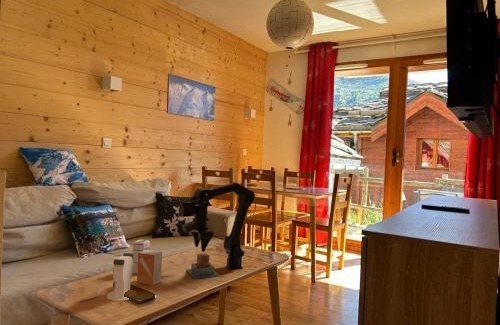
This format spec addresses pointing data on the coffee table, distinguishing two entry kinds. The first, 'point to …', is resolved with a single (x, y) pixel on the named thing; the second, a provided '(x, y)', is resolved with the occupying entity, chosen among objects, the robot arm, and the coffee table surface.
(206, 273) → the socket
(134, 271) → the syrup box
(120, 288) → the white piece
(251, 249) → the coffee table surface
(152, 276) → the small box
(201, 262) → the peg
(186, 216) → the robot arm
